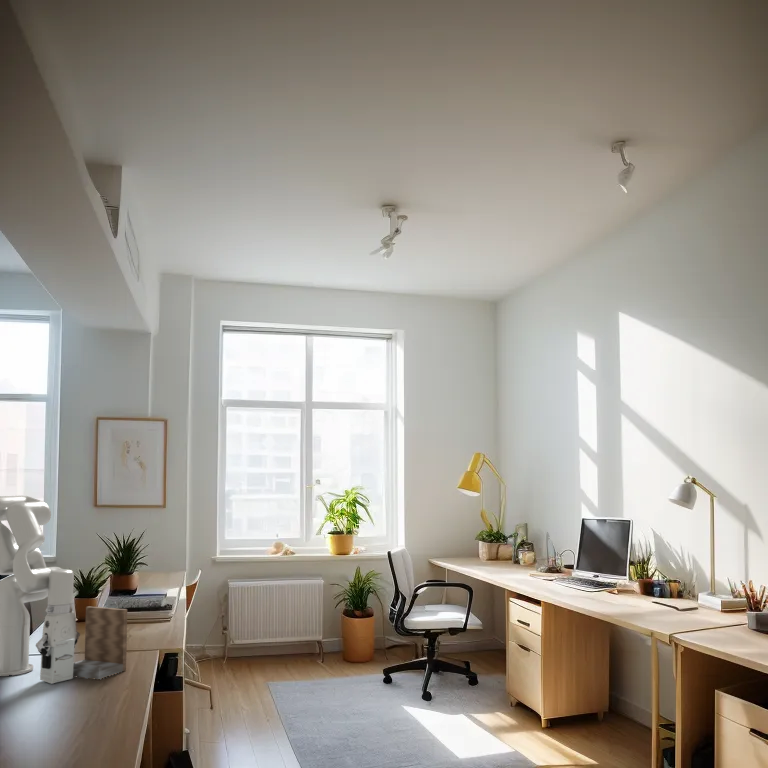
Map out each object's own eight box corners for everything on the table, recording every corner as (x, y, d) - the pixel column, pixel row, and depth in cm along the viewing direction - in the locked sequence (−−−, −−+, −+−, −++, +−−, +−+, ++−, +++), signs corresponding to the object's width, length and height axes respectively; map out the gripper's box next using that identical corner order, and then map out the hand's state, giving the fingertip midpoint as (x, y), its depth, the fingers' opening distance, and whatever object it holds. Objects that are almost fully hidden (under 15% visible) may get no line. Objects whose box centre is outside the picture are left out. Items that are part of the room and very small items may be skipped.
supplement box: (51, 684, 238) (53, 642, 239) (39, 680, 242) (41, 639, 244) (73, 679, 244) (75, 638, 245) (61, 675, 248) (63, 635, 249)
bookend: (59, 674, 250) (61, 612, 252) (87, 666, 261) (89, 606, 263) (99, 679, 243) (100, 615, 245) (126, 670, 254) (127, 609, 256)
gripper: (46, 615, 236) (43, 673, 234) (89, 605, 252) (87, 659, 250) (29, 612, 239) (26, 670, 237) (72, 603, 255) (70, 657, 253)
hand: (57, 664), depth 243 cm, fingers closed on supplement box, 8 cm apart
